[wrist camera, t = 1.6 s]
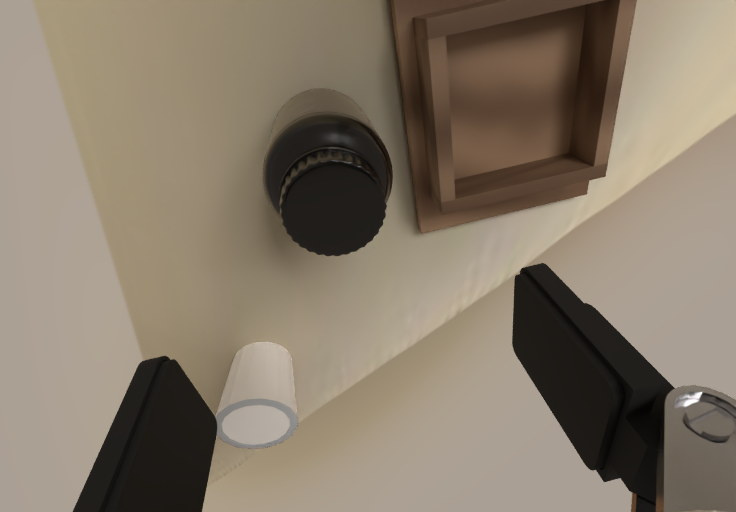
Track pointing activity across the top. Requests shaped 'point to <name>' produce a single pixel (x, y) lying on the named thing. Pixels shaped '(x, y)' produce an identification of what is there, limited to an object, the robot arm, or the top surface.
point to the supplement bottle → (327, 173)
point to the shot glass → (258, 398)
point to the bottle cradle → (507, 100)
